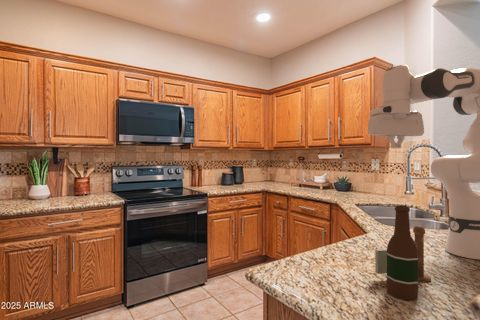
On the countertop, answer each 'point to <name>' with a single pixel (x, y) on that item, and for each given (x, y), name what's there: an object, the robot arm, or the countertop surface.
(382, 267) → the flap
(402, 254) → the beer bottle
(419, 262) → the post
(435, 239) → the countertop surface
